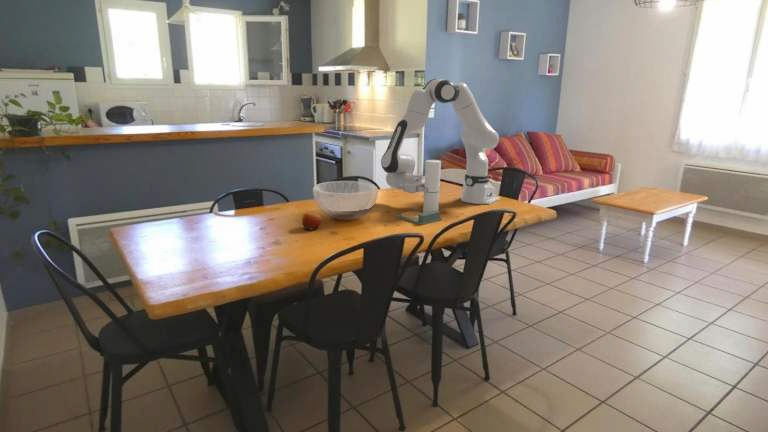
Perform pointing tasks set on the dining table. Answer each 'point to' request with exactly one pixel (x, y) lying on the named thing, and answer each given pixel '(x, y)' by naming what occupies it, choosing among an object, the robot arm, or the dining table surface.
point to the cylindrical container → (432, 185)
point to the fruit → (311, 221)
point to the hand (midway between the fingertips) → (433, 188)
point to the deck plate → (420, 217)
